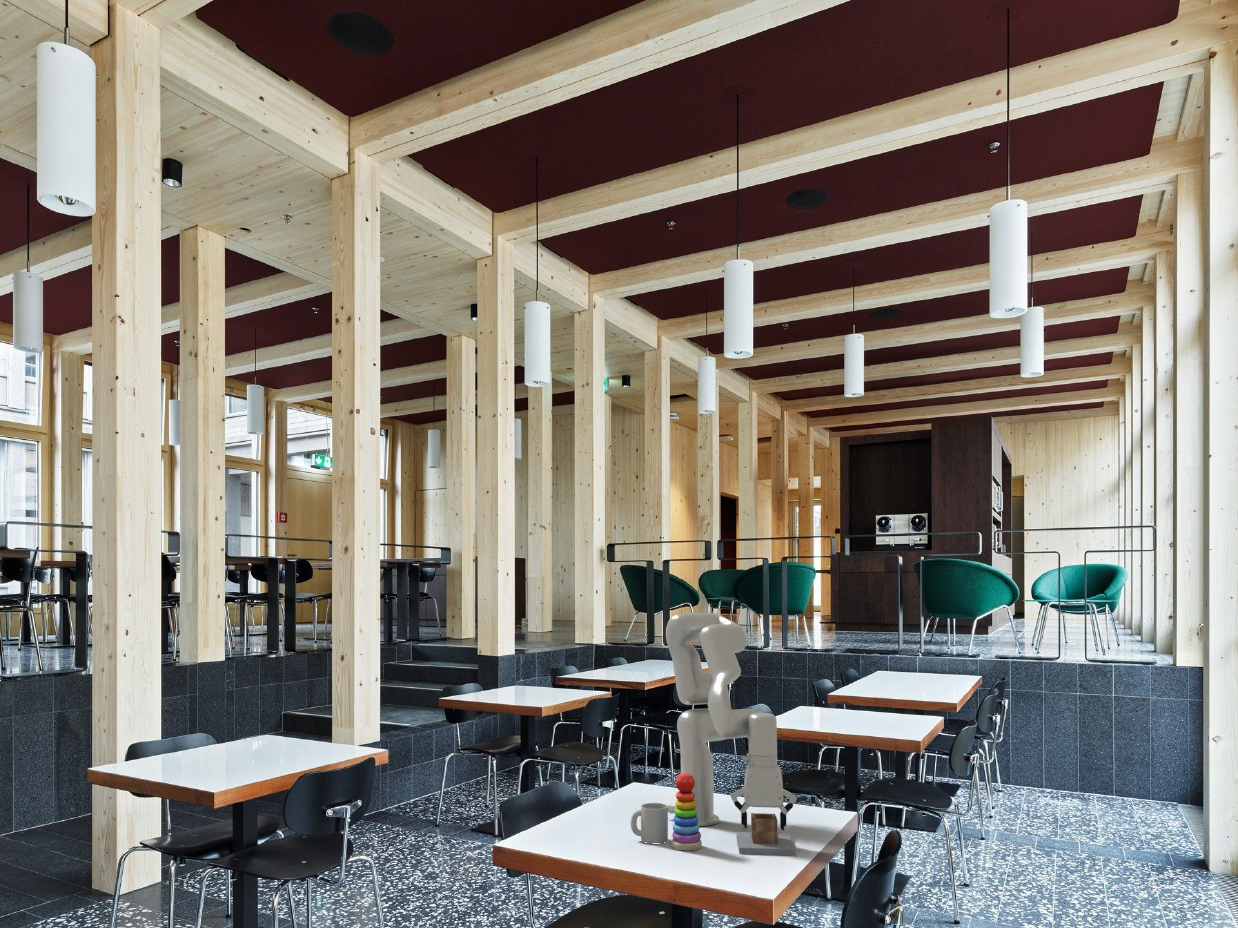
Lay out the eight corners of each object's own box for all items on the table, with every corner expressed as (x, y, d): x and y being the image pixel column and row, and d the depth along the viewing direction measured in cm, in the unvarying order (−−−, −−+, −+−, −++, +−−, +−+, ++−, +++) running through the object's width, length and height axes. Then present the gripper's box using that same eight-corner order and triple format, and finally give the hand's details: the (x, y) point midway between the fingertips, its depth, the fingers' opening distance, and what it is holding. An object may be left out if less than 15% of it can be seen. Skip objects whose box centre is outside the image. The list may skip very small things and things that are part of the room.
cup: (668, 844, 228) (668, 809, 229) (630, 844, 228) (631, 808, 229) (667, 837, 235) (666, 802, 236) (630, 836, 235) (630, 802, 236)
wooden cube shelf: (753, 843, 224) (752, 818, 225) (751, 836, 231) (750, 812, 231) (777, 843, 224) (777, 819, 225) (775, 837, 230) (775, 813, 231)
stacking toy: (671, 842, 230) (671, 769, 233) (701, 843, 229) (701, 769, 232) (670, 850, 222) (670, 775, 225) (701, 851, 221) (701, 775, 224)
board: (739, 853, 220) (739, 832, 221) (736, 837, 235) (736, 818, 236) (794, 855, 219) (794, 834, 220) (788, 839, 234) (788, 819, 234)
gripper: (730, 762, 227) (731, 830, 225) (797, 764, 226) (798, 833, 223) (729, 757, 235) (730, 823, 232) (794, 759, 233) (795, 825, 231)
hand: (763, 828), depth 228 cm, fingers open, 9 cm apart
